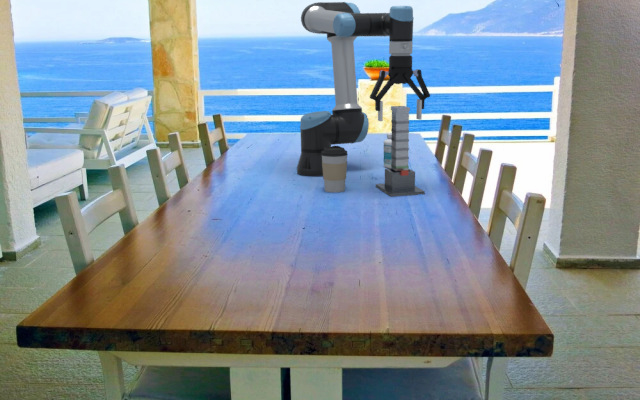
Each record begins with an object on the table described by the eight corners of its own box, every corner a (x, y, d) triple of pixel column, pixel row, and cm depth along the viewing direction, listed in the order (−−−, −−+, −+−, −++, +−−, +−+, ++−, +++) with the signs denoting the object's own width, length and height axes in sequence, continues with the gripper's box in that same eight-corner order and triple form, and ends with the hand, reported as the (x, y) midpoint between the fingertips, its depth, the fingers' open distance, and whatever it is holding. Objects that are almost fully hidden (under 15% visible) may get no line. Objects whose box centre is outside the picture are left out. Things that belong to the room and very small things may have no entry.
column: (396, 171, 229) (397, 108, 224) (390, 168, 235) (390, 106, 230) (409, 171, 230) (409, 107, 225) (402, 167, 236) (403, 105, 231)
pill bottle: (402, 165, 280) (402, 132, 277) (402, 168, 273) (402, 134, 270) (383, 165, 281) (383, 132, 278) (383, 168, 274) (383, 135, 270)
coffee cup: (345, 193, 231) (345, 149, 228) (319, 192, 233) (318, 149, 230) (349, 187, 240) (349, 145, 236) (324, 187, 242) (323, 144, 238)
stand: (390, 196, 225) (390, 173, 224) (375, 186, 241) (375, 164, 239) (424, 194, 228) (425, 171, 226) (408, 184, 243) (408, 163, 241)
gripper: (367, 56, 218) (367, 122, 223) (441, 54, 223) (439, 119, 228) (360, 55, 225) (360, 120, 230) (432, 53, 230) (430, 117, 235)
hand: (399, 120), depth 229 cm, fingers open, 13 cm apart
